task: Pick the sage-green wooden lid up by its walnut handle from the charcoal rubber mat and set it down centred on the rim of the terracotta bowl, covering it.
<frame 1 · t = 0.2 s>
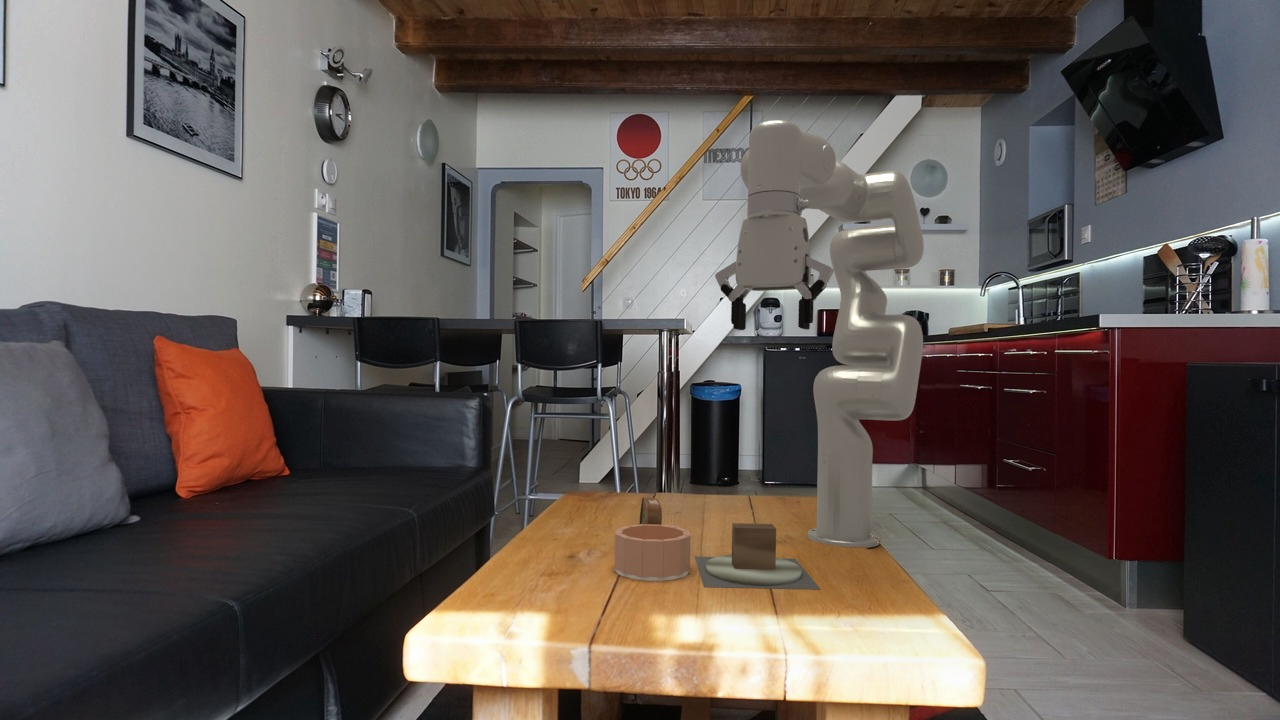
hand: (771, 329, 102), 36 cm above the table, tool pointing down, fingers open, 9 cm apart
mat: (753, 575, 105), on the table
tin: (649, 551, 119), on the table
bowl: (651, 572, 105), on the table
lid: (753, 571, 105), resting on mat
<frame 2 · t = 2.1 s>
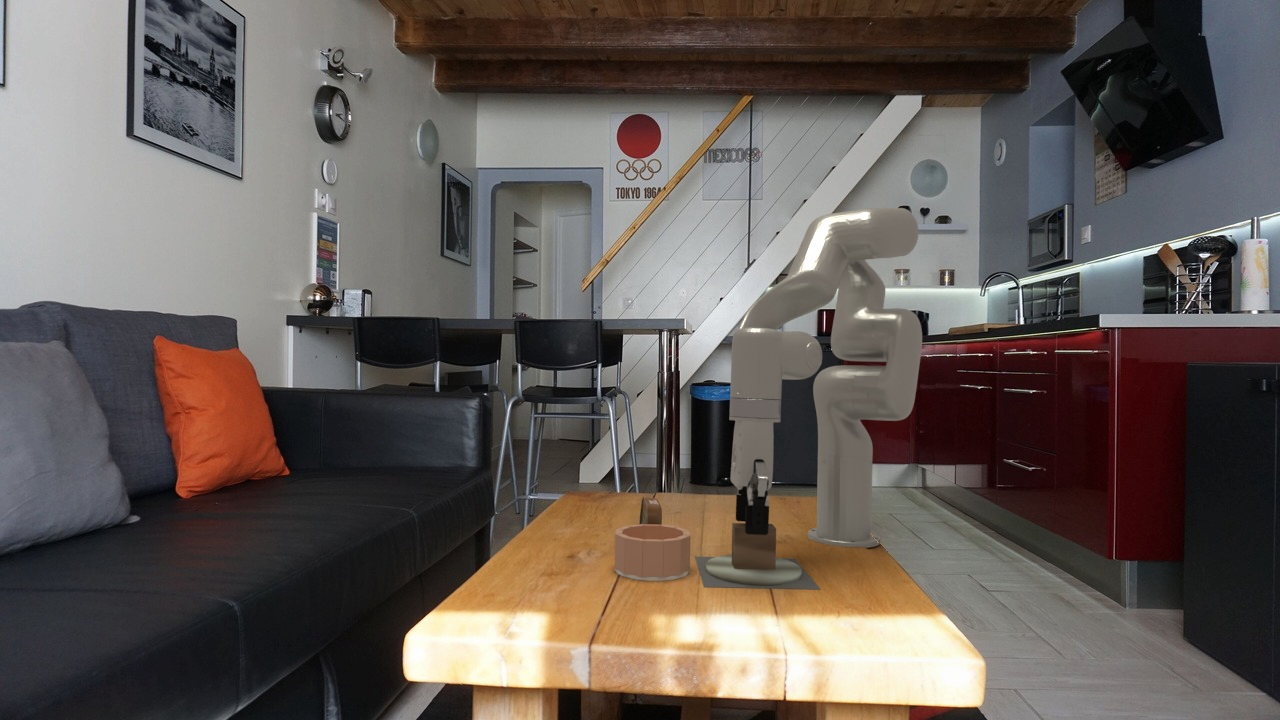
hand: (751, 527, 105), 7 cm above the table, tool pointing down, fingers open, 9 cm apart
nothing on the table moved.
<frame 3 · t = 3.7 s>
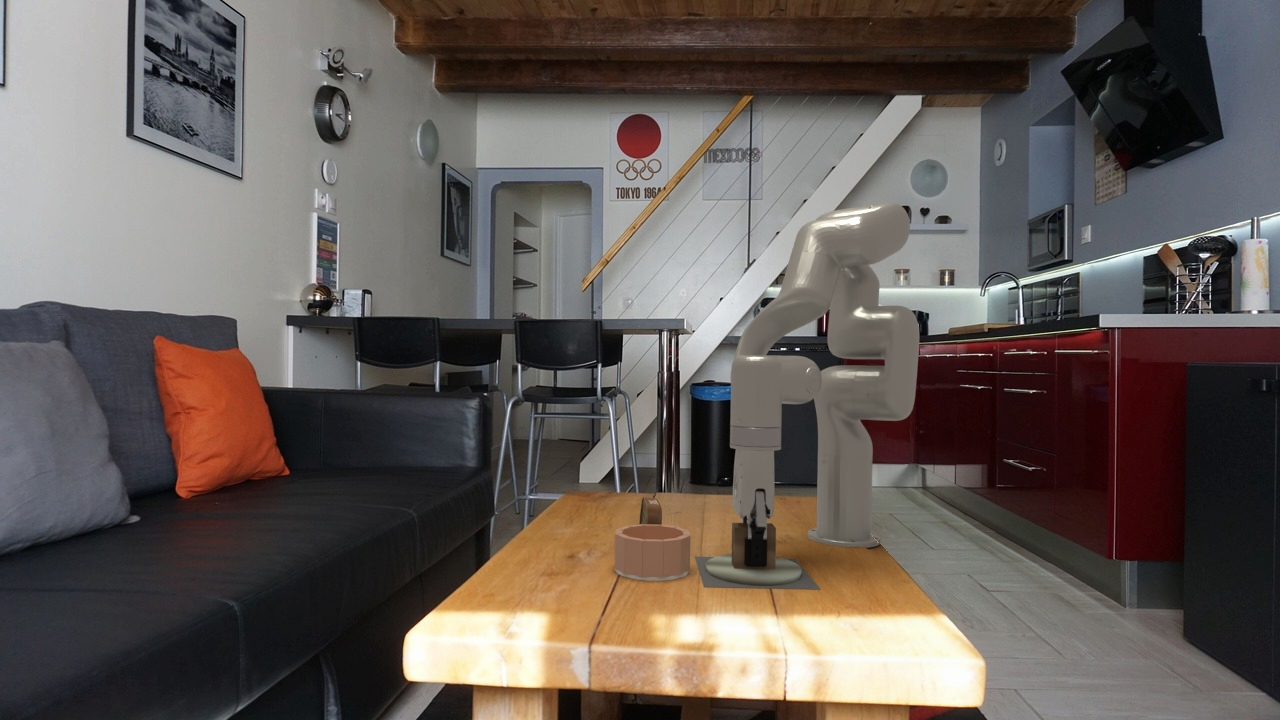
hand: (753, 561, 105), 2 cm above the table, tool pointing down, fingers closed on lid, 3 cm apart
lid: (753, 571, 105), point 1 cm above the table, touching gripper
everything else where it was.
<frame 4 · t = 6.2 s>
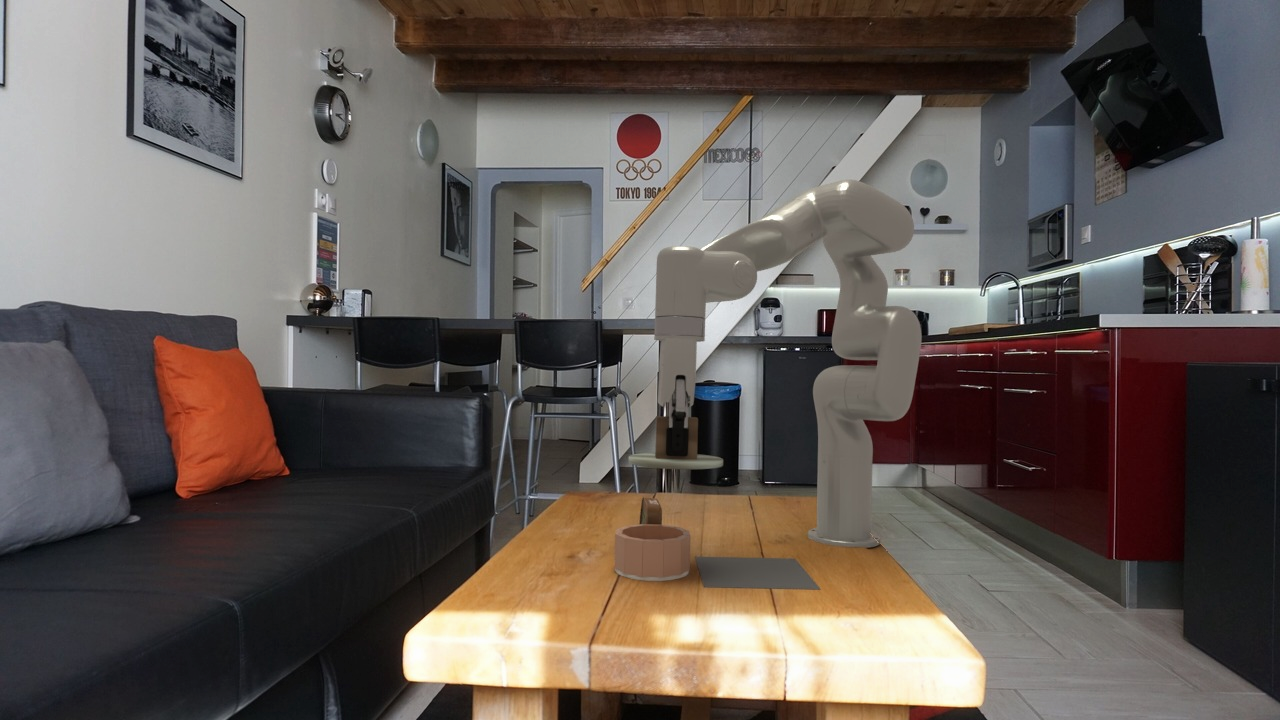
hand: (675, 453, 105), 18 cm above the table, tool pointing down, fingers closed on lid, 3 cm apart
lid: (675, 463, 105), point 16 cm above the table, touching gripper
everything else where it was.
when the fingers open (9 cm above the table, at t = 8.7 s): lid stays where it is, resting on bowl.
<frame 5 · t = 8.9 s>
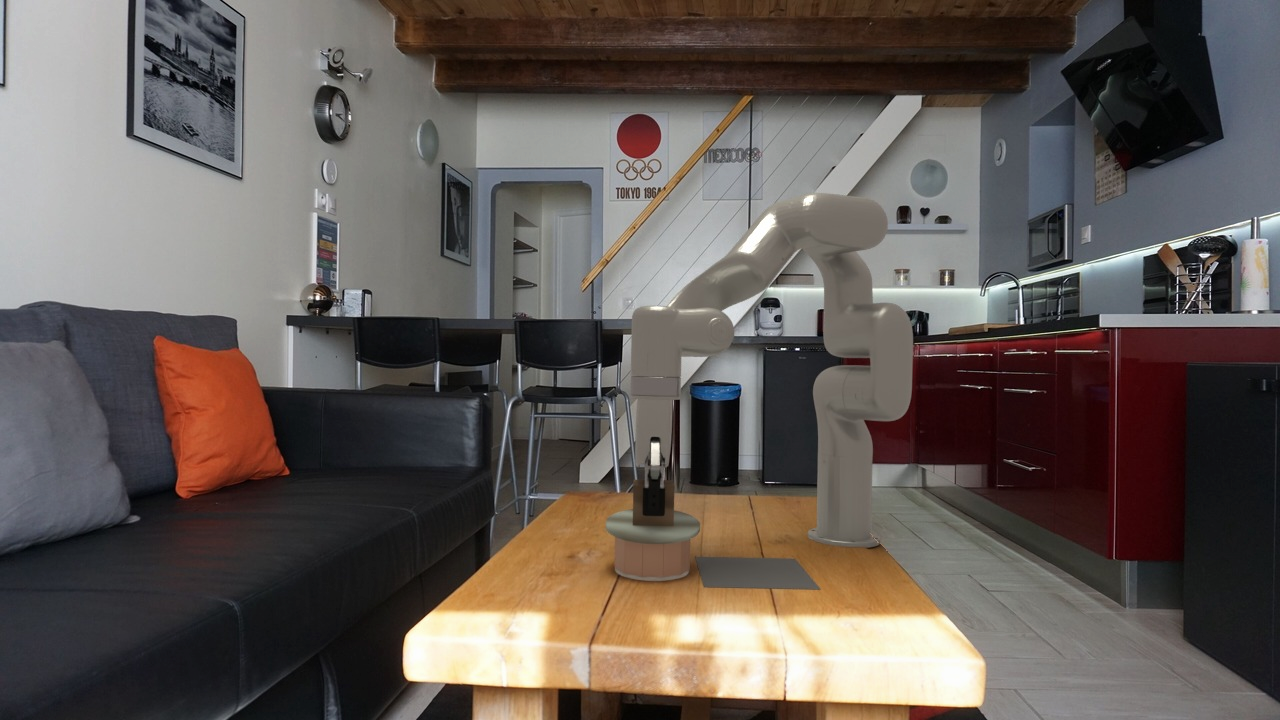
hand: (653, 510, 105), 9 cm above the table, tool pointing down, fingers open, 5 cm apart
lid: (652, 527, 106), point 7 cm above the table, tilted 6°, touching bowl
everything else where it was.
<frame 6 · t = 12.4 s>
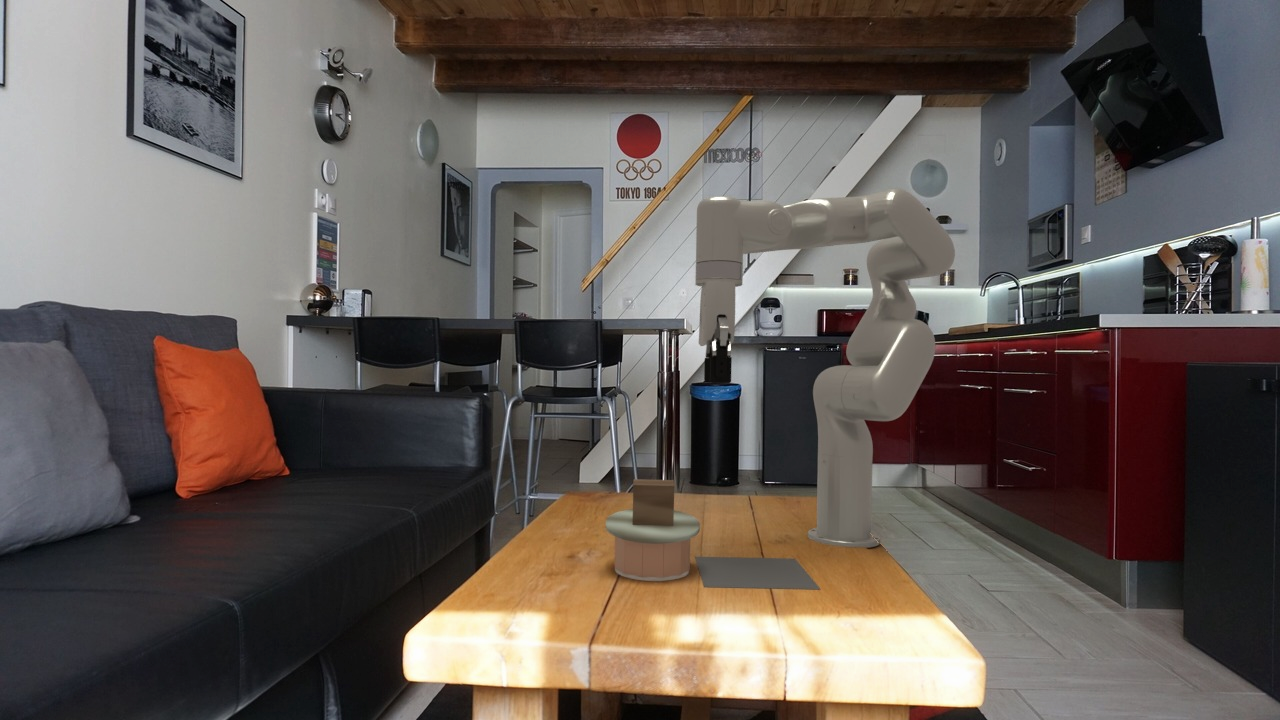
hand: (717, 382, 114), 28 cm above the table, tool pointing down, fingers open, 9 cm apart
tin: (649, 551, 119), on the table, touching lid
lid: (652, 527, 106), point 7 cm above the table, tilted 6°, touching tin
at the end: lid 0.5 cm off-centre on the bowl, point 6.6 cm above the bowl's base; lid tilted 6°; the gripper is holding nothing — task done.
